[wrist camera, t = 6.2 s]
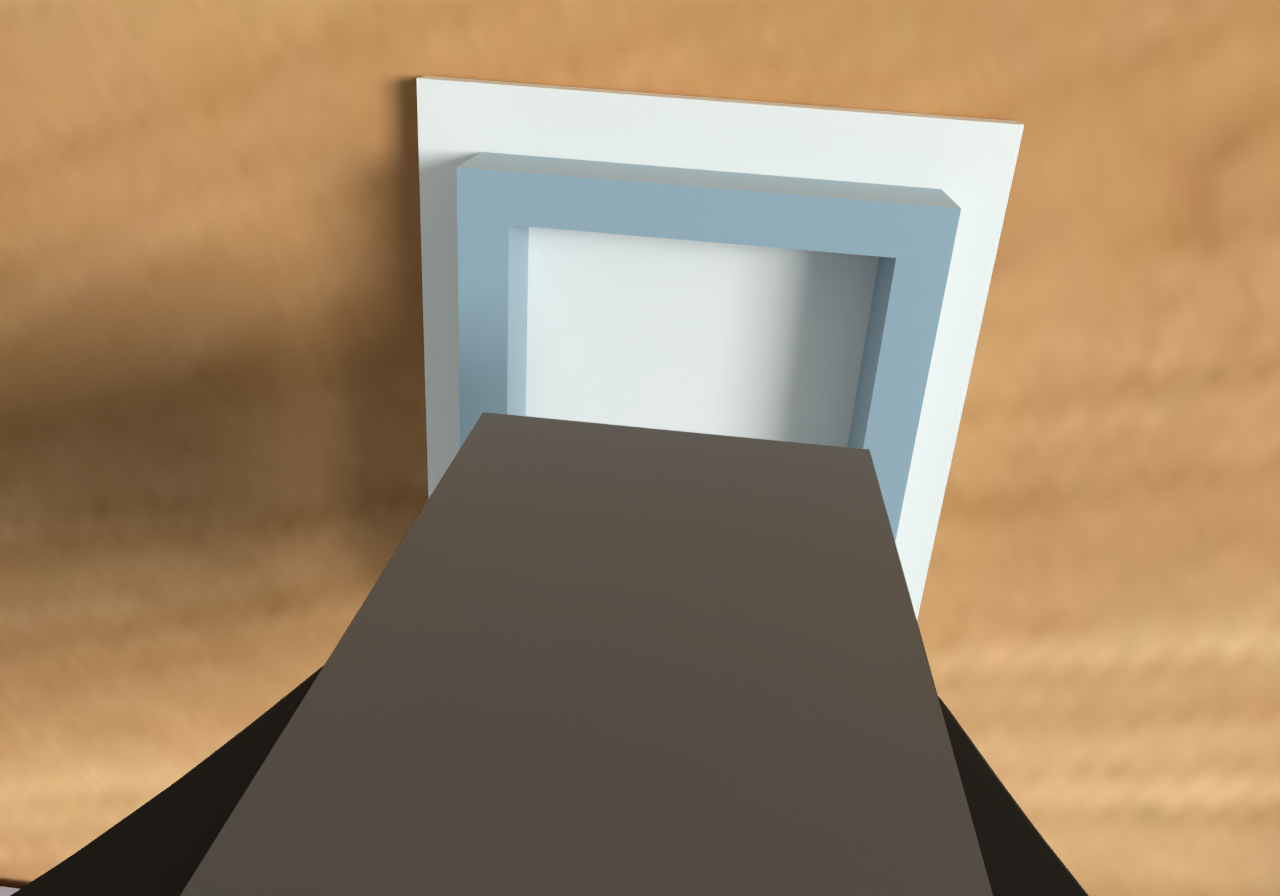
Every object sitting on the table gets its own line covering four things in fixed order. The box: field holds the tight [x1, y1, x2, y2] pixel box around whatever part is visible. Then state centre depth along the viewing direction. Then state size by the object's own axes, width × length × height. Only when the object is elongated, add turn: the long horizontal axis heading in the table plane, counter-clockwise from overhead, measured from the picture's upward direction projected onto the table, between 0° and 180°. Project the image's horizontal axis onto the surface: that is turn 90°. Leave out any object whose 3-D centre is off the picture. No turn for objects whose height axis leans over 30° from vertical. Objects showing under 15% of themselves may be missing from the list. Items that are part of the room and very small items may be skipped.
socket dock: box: [417, 76, 1024, 619], centre depth 16 cm, size 9×10×2 cm
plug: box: [180, 412, 993, 896], centre depth 8 cm, size 4×5×7 cm
